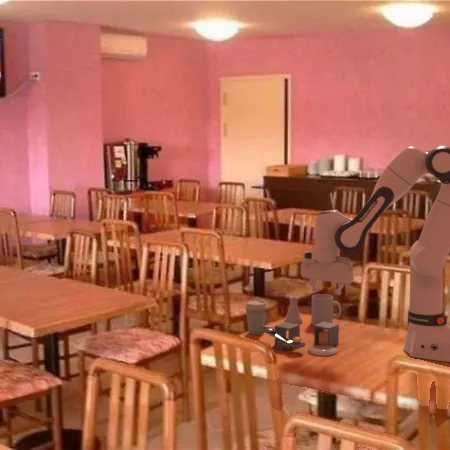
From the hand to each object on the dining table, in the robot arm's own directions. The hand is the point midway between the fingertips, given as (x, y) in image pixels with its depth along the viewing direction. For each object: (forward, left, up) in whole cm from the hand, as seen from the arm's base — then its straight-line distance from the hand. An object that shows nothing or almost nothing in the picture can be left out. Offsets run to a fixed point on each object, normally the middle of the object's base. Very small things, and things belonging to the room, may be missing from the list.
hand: (326, 292), depth 276 cm
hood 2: (0, 0, -19) cm, 19 cm away
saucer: (-4, +9, -19) cm, 21 cm away
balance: (+9, +15, -19) cm, 26 cm away
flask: (+26, -17, -19) cm, 36 cm away
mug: (+14, -23, -19) cm, 33 cm away
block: (0, 0, -19) cm, 19 cm away
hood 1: (+11, +9, -19) cm, 23 cm away
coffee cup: (+28, +4, -19) cm, 34 cm away
